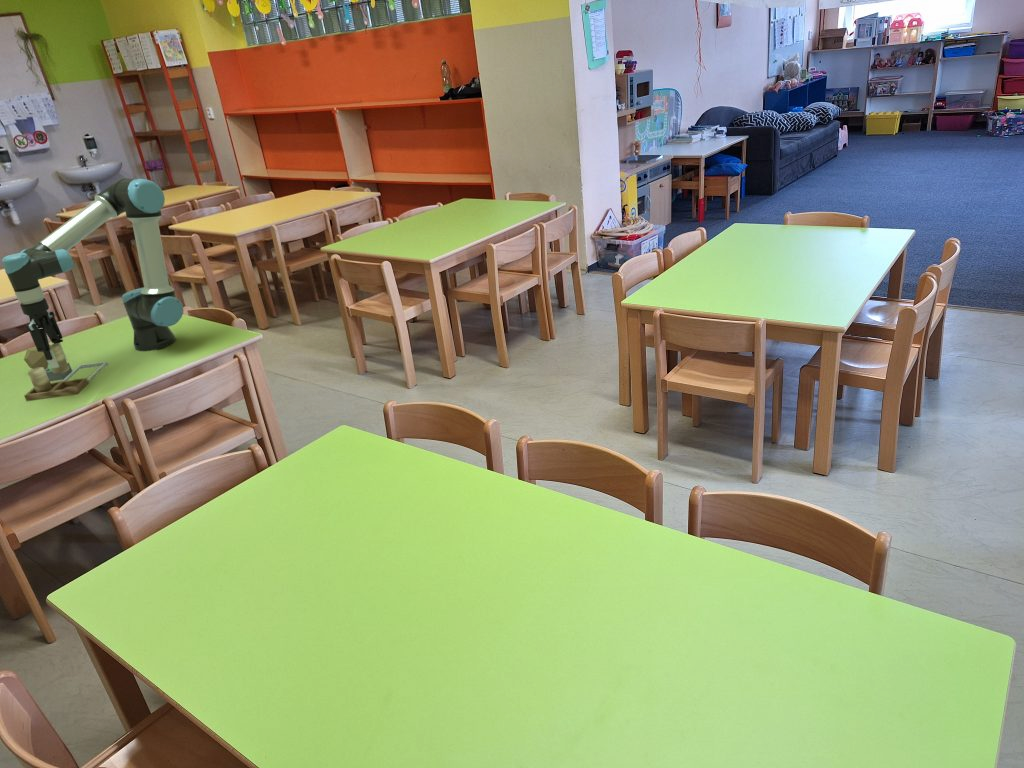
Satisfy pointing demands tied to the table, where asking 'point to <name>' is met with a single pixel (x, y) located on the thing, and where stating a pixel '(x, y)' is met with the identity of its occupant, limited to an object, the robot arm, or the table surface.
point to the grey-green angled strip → (102, 365)
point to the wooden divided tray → (59, 389)
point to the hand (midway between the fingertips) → (58, 364)
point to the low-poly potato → (35, 358)
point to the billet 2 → (59, 359)
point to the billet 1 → (40, 380)
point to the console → (57, 376)
